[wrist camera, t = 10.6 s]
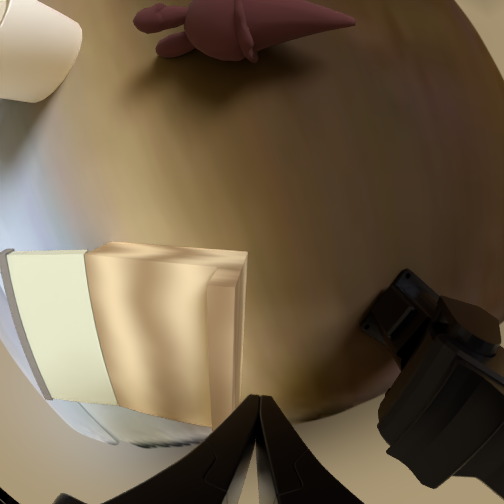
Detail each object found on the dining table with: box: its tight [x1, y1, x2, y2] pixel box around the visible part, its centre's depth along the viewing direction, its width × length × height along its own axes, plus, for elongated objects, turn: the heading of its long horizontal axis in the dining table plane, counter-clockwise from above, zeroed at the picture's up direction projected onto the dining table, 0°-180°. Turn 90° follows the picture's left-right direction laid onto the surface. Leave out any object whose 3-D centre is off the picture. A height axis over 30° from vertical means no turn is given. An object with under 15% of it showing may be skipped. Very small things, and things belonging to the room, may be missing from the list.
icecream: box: [133, 0, 356, 64], centre depth 14 cm, size 7×7×15 cm
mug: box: [0, 0, 82, 103], centre depth 13 cm, size 14×10×11 cm
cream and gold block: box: [84, 242, 248, 432], centre depth 21 cm, size 12×16×7 cm
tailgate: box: [0, 249, 118, 405], centre depth 20 cm, size 2×16×9 cm
